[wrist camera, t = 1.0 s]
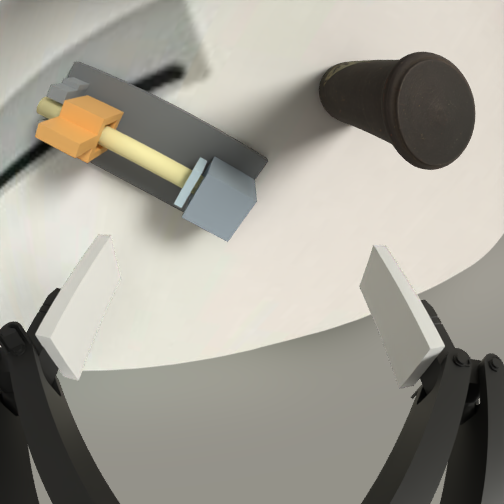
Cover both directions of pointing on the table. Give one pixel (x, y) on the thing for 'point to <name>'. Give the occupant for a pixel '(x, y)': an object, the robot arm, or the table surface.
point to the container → (405, 105)
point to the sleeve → (79, 127)
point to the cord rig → (167, 151)
